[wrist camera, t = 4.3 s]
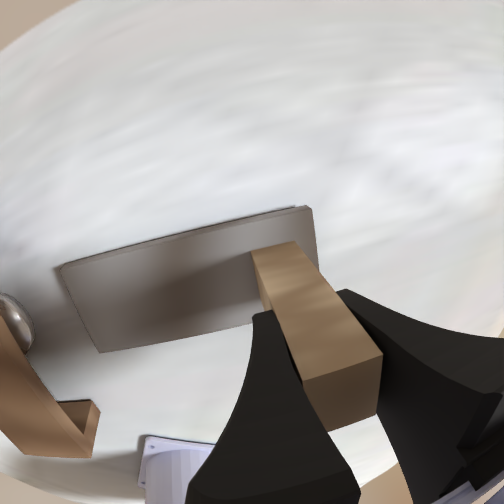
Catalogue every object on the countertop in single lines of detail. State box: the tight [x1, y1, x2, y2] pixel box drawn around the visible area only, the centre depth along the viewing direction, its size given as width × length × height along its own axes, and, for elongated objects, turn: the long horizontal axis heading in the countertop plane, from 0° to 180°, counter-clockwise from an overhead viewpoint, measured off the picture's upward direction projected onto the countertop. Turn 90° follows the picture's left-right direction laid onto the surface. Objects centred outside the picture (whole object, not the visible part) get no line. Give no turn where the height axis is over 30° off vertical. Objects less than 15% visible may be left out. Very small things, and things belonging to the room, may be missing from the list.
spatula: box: [60, 205, 383, 432], centre depth 11 cm, size 12×5×9 cm, turn 101°
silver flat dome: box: [0, 293, 35, 354], centre depth 14 cm, size 4×4×1 cm
